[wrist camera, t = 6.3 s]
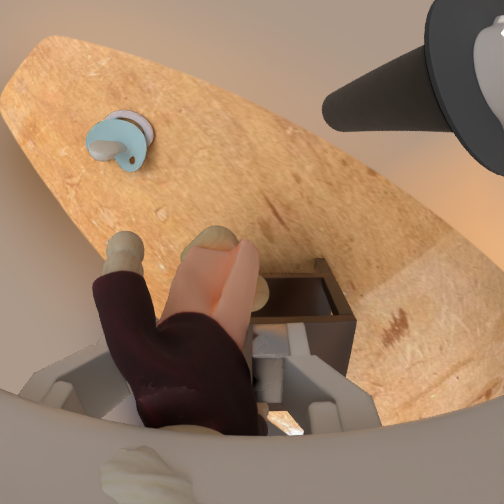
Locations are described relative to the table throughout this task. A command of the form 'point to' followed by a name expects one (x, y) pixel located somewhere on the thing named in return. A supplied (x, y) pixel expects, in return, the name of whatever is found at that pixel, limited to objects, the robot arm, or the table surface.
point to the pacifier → (120, 139)
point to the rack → (309, 315)
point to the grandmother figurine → (181, 353)
